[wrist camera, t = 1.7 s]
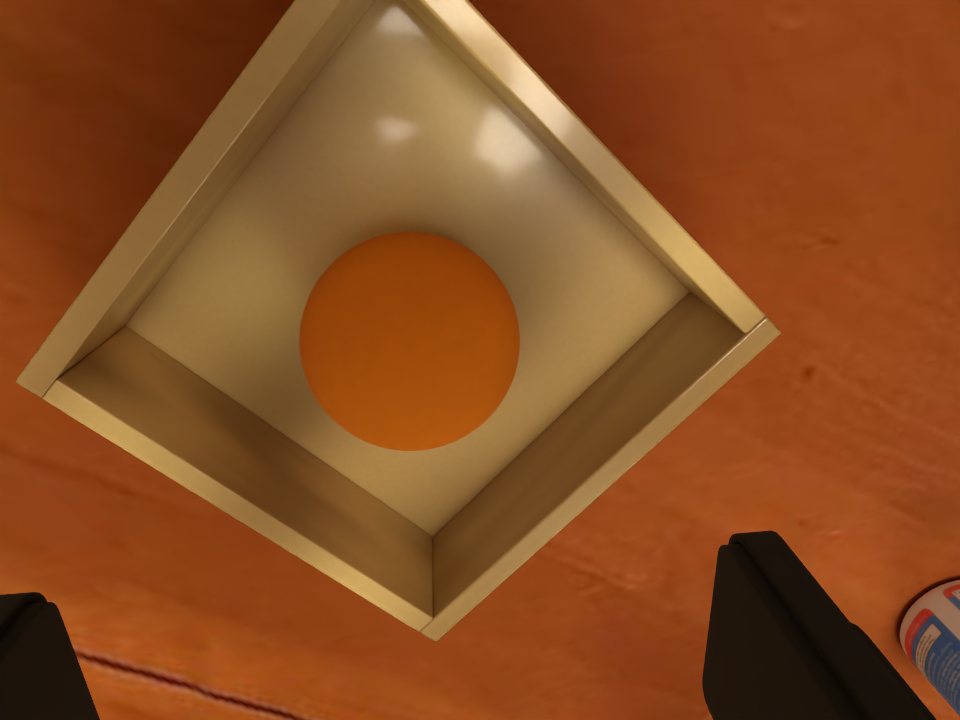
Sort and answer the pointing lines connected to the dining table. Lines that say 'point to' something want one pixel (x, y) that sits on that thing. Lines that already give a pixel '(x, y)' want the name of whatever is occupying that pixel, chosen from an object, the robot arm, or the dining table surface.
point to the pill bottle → (936, 639)
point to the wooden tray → (359, 217)
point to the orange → (409, 341)
